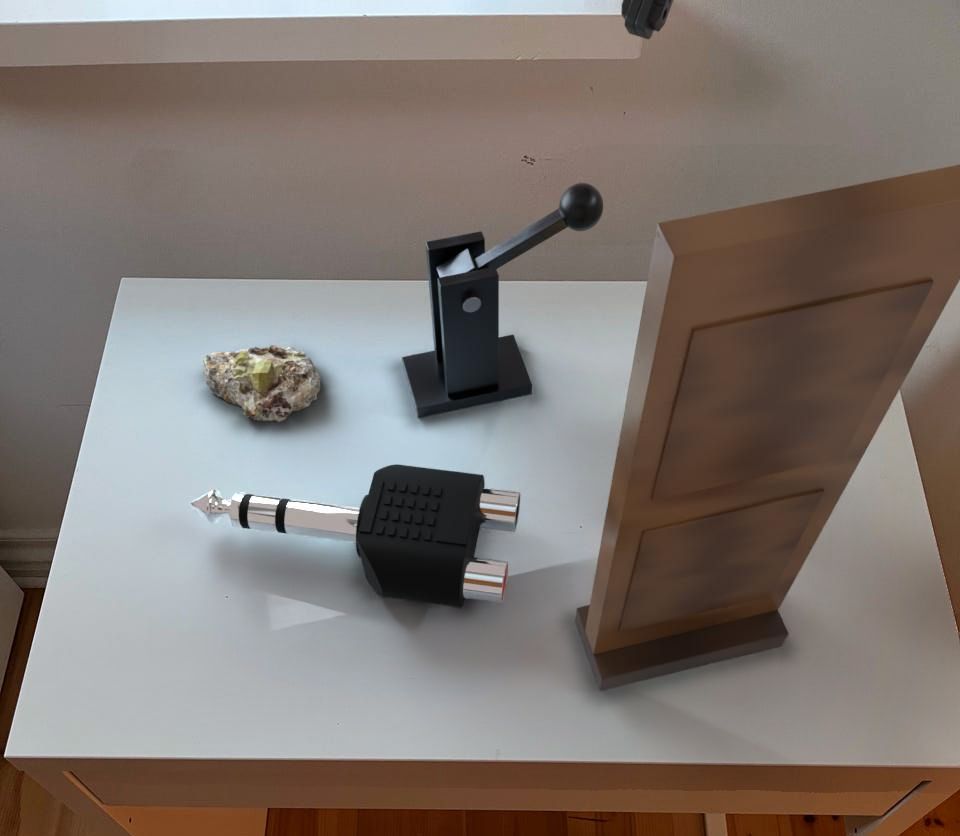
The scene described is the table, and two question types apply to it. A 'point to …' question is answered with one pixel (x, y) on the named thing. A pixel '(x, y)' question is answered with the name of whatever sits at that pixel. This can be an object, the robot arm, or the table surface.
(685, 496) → the door
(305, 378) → the mineral rock
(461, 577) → the audio adapter
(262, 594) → the table surface
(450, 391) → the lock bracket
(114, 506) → the table surface
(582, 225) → the lever
